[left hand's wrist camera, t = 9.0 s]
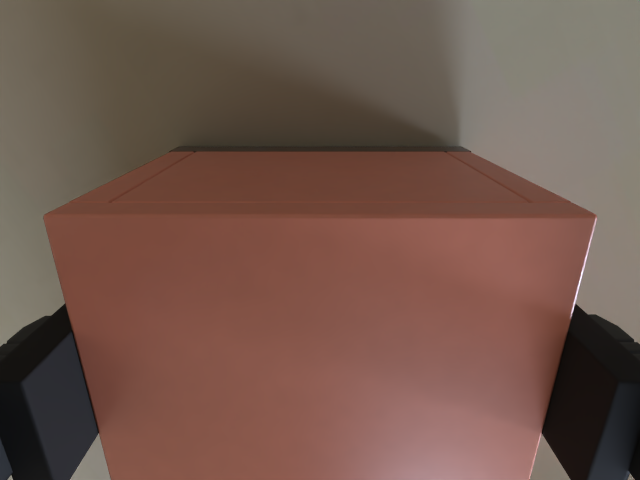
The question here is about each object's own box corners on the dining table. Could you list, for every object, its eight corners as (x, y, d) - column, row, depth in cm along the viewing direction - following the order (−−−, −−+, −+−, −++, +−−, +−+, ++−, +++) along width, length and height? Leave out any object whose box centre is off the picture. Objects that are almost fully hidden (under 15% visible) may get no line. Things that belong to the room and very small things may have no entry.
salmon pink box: (414, 530, 22) (460, 752, 15) (226, 530, 22) (180, 752, 15) (461, 146, 15) (601, 214, 7) (178, 146, 15) (39, 214, 7)
